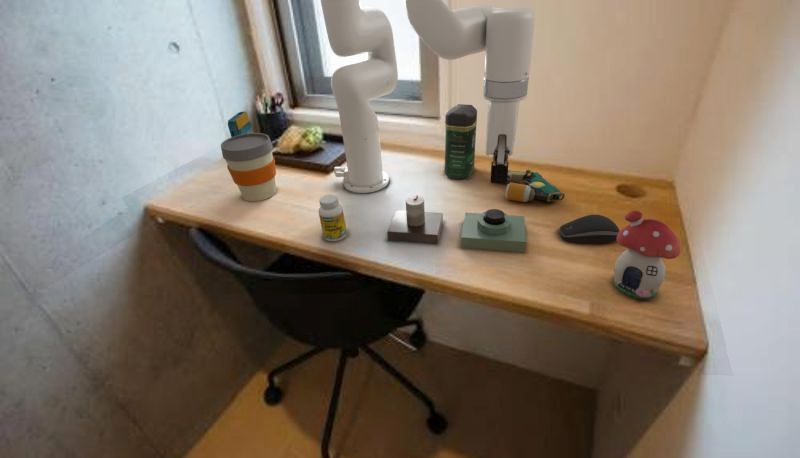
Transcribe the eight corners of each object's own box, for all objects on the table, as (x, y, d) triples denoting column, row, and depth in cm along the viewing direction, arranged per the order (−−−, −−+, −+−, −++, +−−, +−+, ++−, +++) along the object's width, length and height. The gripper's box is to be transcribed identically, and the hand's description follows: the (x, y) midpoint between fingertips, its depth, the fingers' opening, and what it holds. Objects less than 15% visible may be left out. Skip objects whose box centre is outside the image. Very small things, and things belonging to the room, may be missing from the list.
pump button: (484, 225, 87) (484, 218, 86) (485, 215, 90) (485, 208, 89) (503, 226, 86) (504, 219, 85) (504, 216, 89) (504, 209, 88)
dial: (423, 227, 90) (422, 204, 87) (405, 225, 91) (403, 203, 88) (426, 217, 93) (425, 195, 90) (408, 216, 94) (407, 194, 91)
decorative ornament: (598, 281, 76) (617, 211, 68) (619, 266, 79) (639, 198, 71) (649, 309, 70) (677, 236, 62) (669, 292, 73) (698, 220, 64)
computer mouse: (555, 227, 92) (557, 211, 89) (611, 225, 91) (616, 210, 89) (564, 245, 86) (567, 229, 84) (625, 244, 85) (630, 228, 83)
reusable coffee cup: (247, 209, 106) (231, 155, 98) (228, 193, 114) (212, 142, 106) (291, 192, 113) (279, 140, 104) (270, 178, 121) (257, 129, 113)
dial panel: (388, 240, 91) (387, 231, 90) (396, 219, 98) (396, 210, 97) (437, 244, 89) (437, 235, 87) (442, 222, 96) (442, 212, 95)
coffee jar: (469, 181, 112) (472, 114, 102) (441, 178, 115) (441, 112, 104) (477, 166, 120) (480, 102, 109) (450, 163, 122) (451, 100, 112)
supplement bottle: (345, 227, 97) (340, 190, 91) (348, 239, 92) (342, 202, 87) (322, 231, 96) (315, 194, 90) (324, 244, 91) (317, 206, 86)
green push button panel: (460, 247, 87) (461, 230, 85) (464, 222, 95) (465, 205, 93) (524, 252, 85) (527, 234, 82) (523, 226, 93) (525, 208, 90)
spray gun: (493, 178, 114) (549, 180, 113) (500, 206, 100) (564, 207, 98) (495, 164, 112) (552, 165, 111) (502, 190, 98) (567, 191, 96)
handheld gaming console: (251, 156, 136) (239, 111, 127) (263, 156, 135) (251, 110, 127) (238, 169, 128) (224, 122, 119) (251, 169, 127) (238, 121, 119)
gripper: (485, 77, 79) (481, 165, 89) (481, 100, 67) (477, 199, 77) (526, 77, 78) (517, 166, 88) (529, 100, 66) (519, 201, 76)
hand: (498, 181), depth 82 cm, fingers closed
